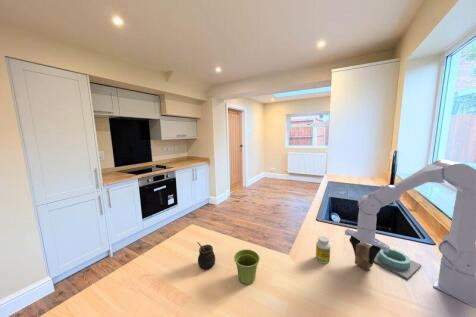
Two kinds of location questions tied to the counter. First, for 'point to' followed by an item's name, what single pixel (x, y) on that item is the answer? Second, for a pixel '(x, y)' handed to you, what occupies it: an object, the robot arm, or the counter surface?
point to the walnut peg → (363, 255)
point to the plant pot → (246, 265)
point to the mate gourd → (206, 257)
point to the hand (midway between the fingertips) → (364, 258)
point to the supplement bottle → (323, 250)
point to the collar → (397, 263)
